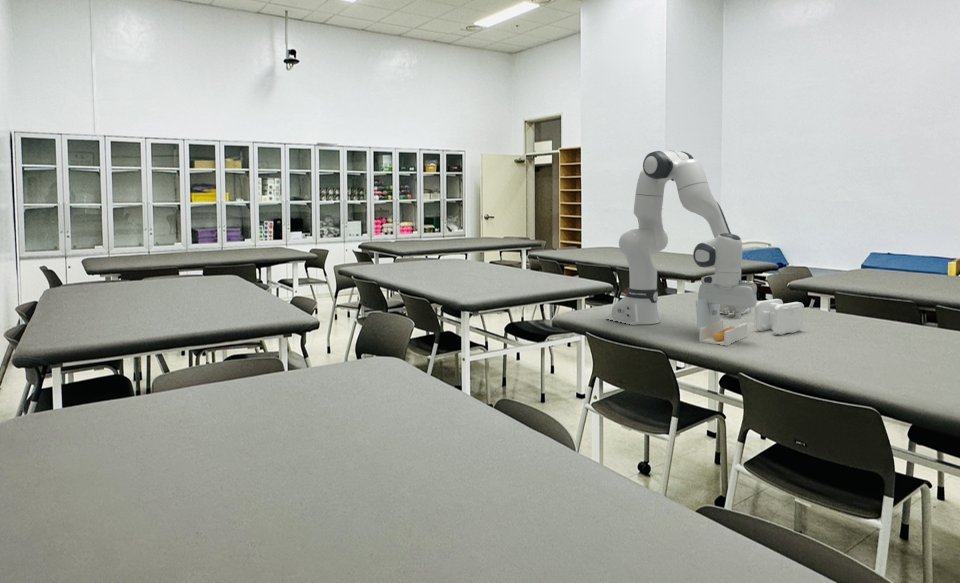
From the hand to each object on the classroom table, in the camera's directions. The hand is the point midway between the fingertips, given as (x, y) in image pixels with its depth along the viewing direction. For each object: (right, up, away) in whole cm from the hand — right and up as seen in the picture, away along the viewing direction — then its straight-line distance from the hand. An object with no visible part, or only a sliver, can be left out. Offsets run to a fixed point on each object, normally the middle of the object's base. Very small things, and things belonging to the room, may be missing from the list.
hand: (725, 316), depth 231 cm
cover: (-4, +2, +4) cm, 6 cm away
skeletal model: (+20, -1, +46) cm, 50 cm away
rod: (0, -8, +1) cm, 8 cm away
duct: (0, -8, +2) cm, 9 cm away
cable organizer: (+25, -6, +12) cm, 28 cm away
